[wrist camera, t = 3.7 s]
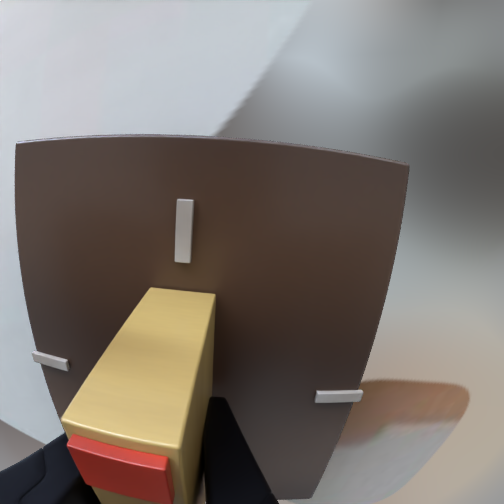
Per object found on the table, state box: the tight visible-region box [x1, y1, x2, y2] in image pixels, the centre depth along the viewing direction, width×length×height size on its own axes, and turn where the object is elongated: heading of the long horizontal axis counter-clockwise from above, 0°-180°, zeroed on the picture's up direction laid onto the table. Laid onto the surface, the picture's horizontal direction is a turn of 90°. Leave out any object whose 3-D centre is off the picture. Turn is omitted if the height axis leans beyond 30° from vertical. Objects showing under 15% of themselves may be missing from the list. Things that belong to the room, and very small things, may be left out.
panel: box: [15, 134, 409, 500], centre depth 10 cm, size 13×10×3 cm
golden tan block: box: [61, 287, 216, 504], centre depth 6 cm, size 6×2×5 cm, turn 175°
